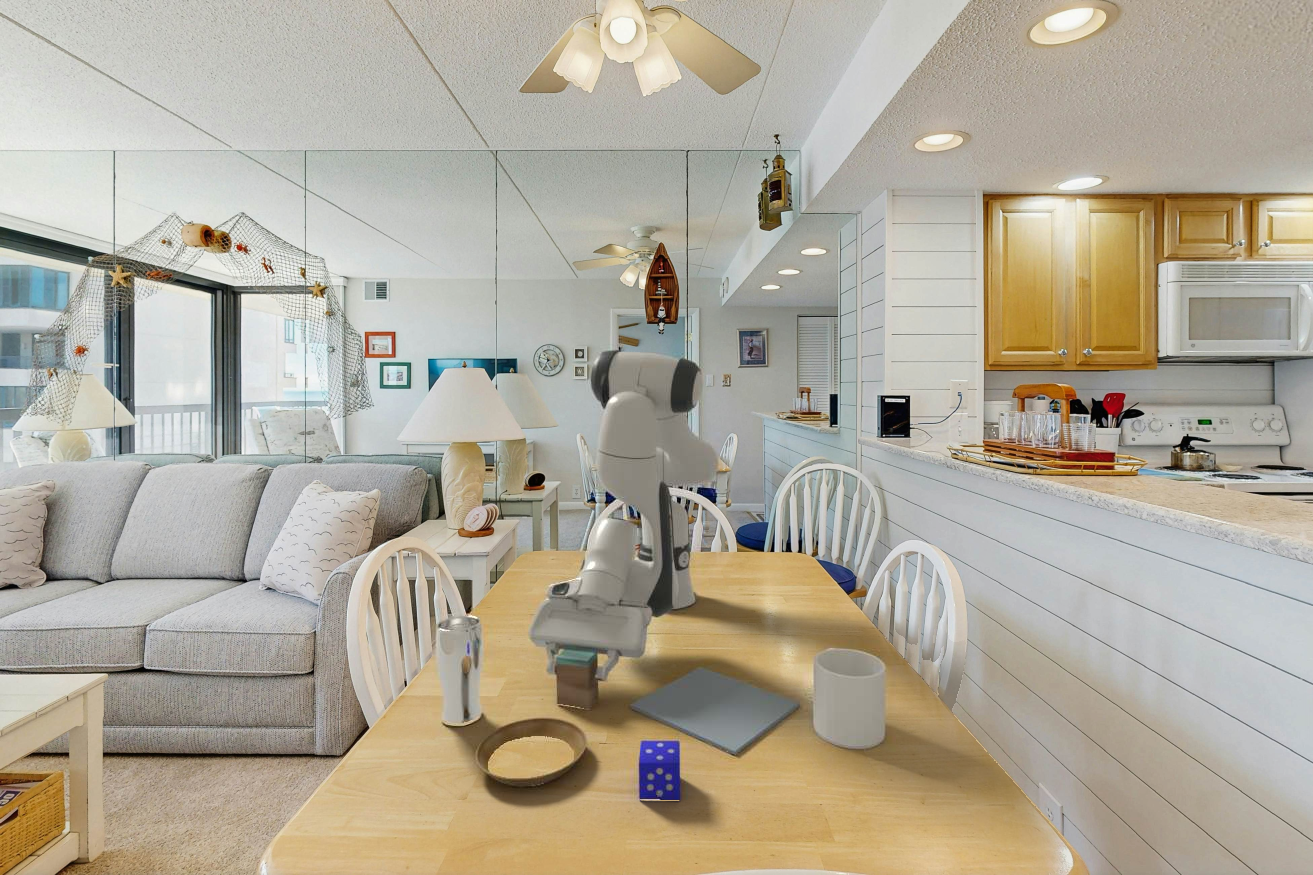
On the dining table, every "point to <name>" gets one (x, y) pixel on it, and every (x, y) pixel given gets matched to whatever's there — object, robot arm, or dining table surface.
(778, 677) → the dining table surface
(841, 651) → the mug
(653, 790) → the die
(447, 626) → the silver metal tumbler
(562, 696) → the green and brown block
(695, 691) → the slate mat
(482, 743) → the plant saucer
